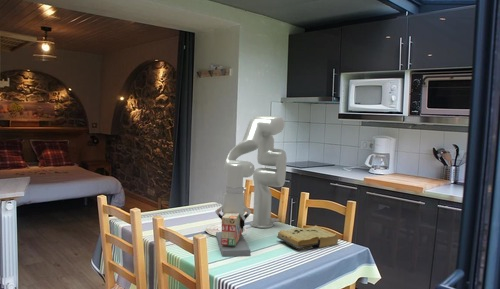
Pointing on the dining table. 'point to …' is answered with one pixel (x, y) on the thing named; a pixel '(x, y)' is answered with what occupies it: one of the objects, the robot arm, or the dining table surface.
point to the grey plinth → (233, 247)
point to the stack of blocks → (231, 229)
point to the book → (308, 238)
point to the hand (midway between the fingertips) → (232, 228)
